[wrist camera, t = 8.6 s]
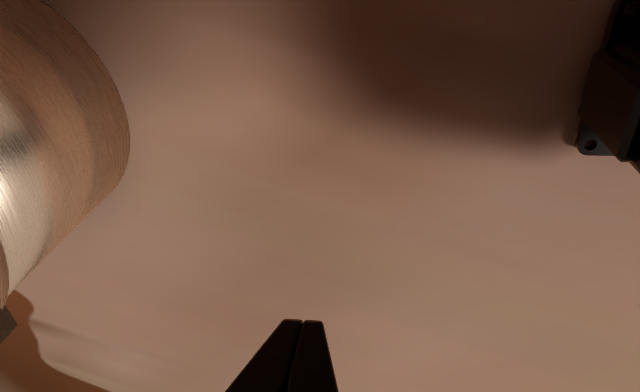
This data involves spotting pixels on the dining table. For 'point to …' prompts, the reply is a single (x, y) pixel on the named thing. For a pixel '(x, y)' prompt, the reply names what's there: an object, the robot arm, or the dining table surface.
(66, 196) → the cooker pot
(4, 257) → the cooker lid
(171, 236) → the dining table surface
